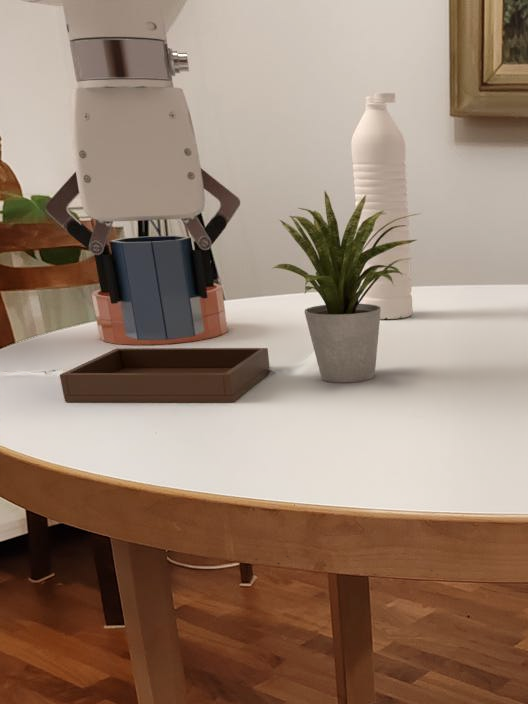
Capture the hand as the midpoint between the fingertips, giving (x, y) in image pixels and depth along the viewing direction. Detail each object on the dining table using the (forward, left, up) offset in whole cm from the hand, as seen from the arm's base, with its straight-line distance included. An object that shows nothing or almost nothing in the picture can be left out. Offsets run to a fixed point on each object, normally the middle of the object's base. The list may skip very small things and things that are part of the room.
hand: (159, 297), depth 88 cm
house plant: (+16, +3, -8) cm, 18 cm away
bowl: (-10, +25, -8) cm, 28 cm away
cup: (0, 0, -3) cm, 3 cm away
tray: (0, 0, -8) cm, 8 cm away
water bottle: (+14, +40, -8) cm, 43 cm away
